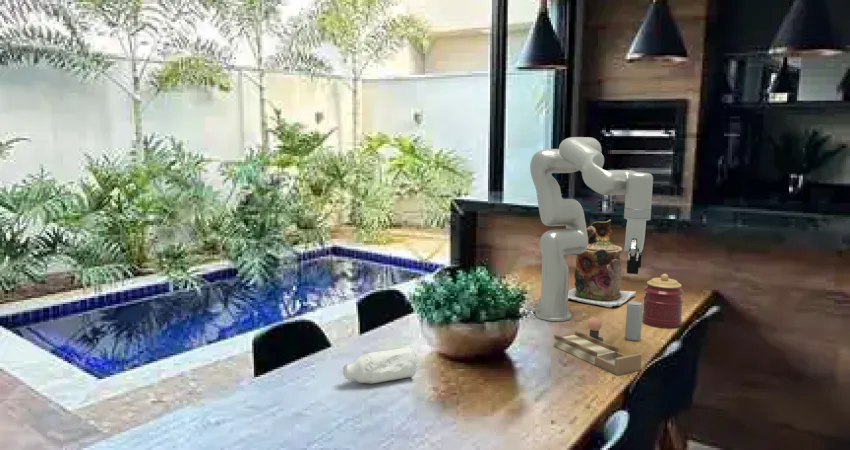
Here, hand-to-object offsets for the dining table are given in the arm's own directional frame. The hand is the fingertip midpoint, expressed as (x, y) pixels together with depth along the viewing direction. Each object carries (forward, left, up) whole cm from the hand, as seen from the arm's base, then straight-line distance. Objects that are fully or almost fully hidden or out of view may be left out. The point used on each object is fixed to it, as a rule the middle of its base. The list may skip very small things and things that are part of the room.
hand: (633, 270), depth 195 cm
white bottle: (-11, -78, -25) cm, 83 cm away
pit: (+9, -14, -25) cm, 30 cm away
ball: (-12, -3, -22) cm, 25 cm away
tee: (-12, -3, -25) cm, 28 cm away
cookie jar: (-51, +35, -25) cm, 67 cm away
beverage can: (-7, +9, -25) cm, 28 cm away
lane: (-4, -14, -25) cm, 29 cm away
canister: (-15, +31, -25) cm, 43 cm away
